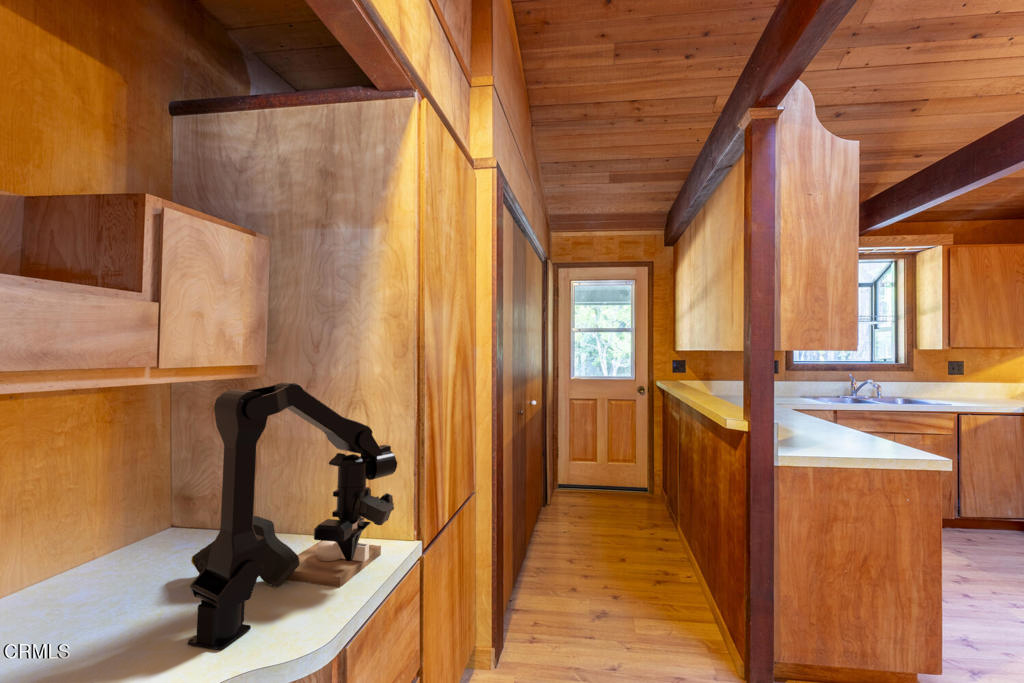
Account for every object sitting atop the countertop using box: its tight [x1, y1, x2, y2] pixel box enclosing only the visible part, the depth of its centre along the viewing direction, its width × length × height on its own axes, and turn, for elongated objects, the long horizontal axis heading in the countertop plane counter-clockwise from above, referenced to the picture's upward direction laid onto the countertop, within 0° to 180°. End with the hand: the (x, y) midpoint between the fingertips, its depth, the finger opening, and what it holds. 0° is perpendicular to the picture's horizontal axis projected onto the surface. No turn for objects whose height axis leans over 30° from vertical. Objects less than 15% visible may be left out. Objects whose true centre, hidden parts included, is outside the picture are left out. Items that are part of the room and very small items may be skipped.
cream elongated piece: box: [316, 541, 370, 561], centre depth 107 cm, size 12×6×3 cm, turn 78°
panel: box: [286, 540, 382, 588], centre depth 108 cm, size 17×15×2 cm
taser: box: [190, 515, 300, 588], centre depth 100 cm, size 4×18×15 cm
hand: (349, 560), depth 102 cm, fingers closed
